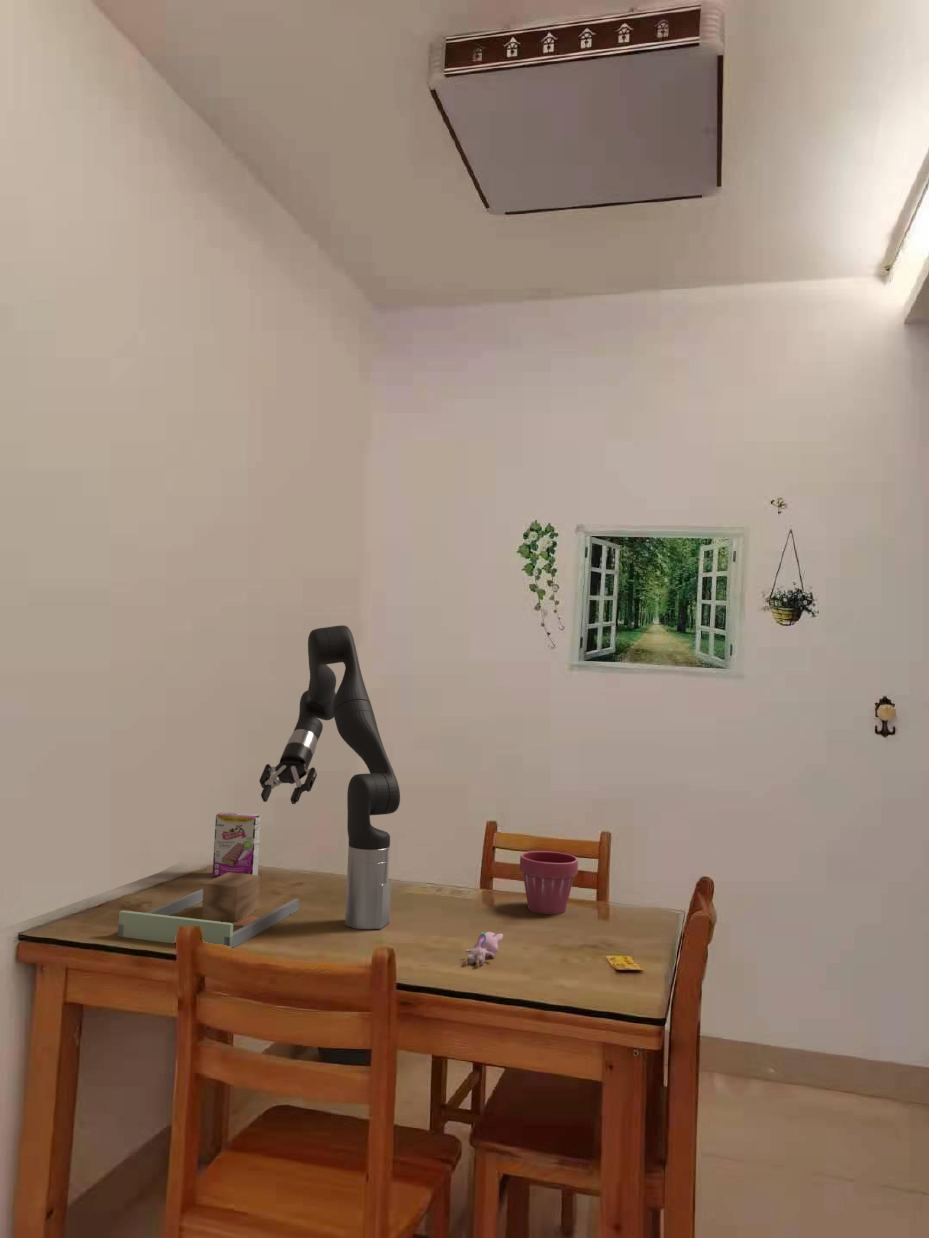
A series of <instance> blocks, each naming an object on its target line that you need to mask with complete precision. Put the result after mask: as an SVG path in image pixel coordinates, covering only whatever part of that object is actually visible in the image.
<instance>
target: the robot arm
mask: <svg viewBox="0 0 929 1238" xmlns="http://www.w3.org/2000/svg"><path fill="white" fill-rule="evenodd" d="M307 640H308V641H307V653H308V668H309V682H308V687H307V688H308V689H307V690H306V691H304V692H303V693H302V695H301V697H300V699H299V700H300V701H299V712H298V713H299V715H298V719H297V721H296V724H295V727H294V729H293V732H292V733H291V735H290V737H289V738H288V740H287V743H286V745H285V747H284V750H283V751H282V754H281V756H280V760H279V763H278V764H277V765H276V766H271V764H270V763H268V764H265V767H264V769H263V771H262V772H261V775H260V778H259V780H258V781H259V784H260V786H261V788H262V791H261V793H260V797H261V799H262V802H264V803H267V802H268V800H269V799H270V795H271V794H272V790H274V788H276V787H279V786H280V785H282V784H290V785H294V784H295V785H296V787H294V790H293V791H292V794H291V797H290V802H291V804H292V805H296V804H297V803H298V802H299V800H300V798H301V796H302V793H304V792H308V793H309V792H310V791H312V789H313V785H314V784H315V781H316V779H317V776H318V774H317V770H316V768H315V767H314V766H313V767H311V768H309V766H310V764H311V761H312V760H313V756H314V754H315V753H316V749H317V744H318V742H319V739H320V737H321V735H322V731H323V728H324V726H323V725H324V724H323V723H322V721H321V720H323V721H330V720H331V721H332V720H333V719H334V722H335V725H336V730H337V732H338V734H339V736H340V737H341V738H342V740H343V741H344V742H345V743H346V744H347V745H348V746H349V748H351V749H352V750H353V751H354V752H355V753H356V754H357V755H358V756H359V757H360V758H361V759H362V761H363V762H364V763H365V765H366V767H367V769H368V771H369V773H357V774H355V775H353V776H352V777H351V779H350V780H349V783H348V785H347V786H348V787H347V792H346V793H347V799H346V801H347V802H346V803H347V804H346V805H347V806H346V807H347V822H346V823H347V835H348V847H347V867H346V868H347V873H346V892H345V895H346V896H345V913H344V916H345V919H344V923H345V925H346V927H349V928H352V929H357V930H358V929H359V930H374V929H376V930H382V929H383V928H384V927H385V926H387V925H388V924H389V923H390V922H391V920H390V919H391V914H390V913H391V897H392V880H391V879H390V878H389V875H390V874H389V873H390V853H391V851H390V849H391V835H390V833H388V832H387V831H385V830H382V829H379V828H376V827H374V826H373V825H372V824H371V816H380V815H390V814H394V813H395V812H396V811H398V809H399V807H400V803H401V793H400V786H399V783H398V779H397V776H396V774H395V772H394V769H393V767H392V765H391V762H390V760H389V757H388V755H387V753H386V749H385V748H384V744H383V741H382V738H381V735H380V731H379V728H378V724H377V720H376V716H375V712H374V710H373V706H372V703H371V700H370V697H369V694H368V691H367V688H366V685H365V682H364V679H363V674H362V671H361V666H360V663H359V662H360V661H359V657H358V652H357V648H356V643H355V640H354V636H353V634H352V631H351V629H350V628H349V626H347V625H333V626H328V627H319V628H315V629H313V630H311V631H310V632H309V635H308V638H307ZM338 663H343V664H344V667H345V669H344V673H343V677H342V680H341V682H340V685H339V687H338V689H337V691H336V688H337V676H336V674H335V672H334V671H333V669H332V668H331V667H329V666H328V665H332V664H338ZM305 776H306V778H305V781H304V783H302V781H301V779H303V778H304V777H305Z"/></svg>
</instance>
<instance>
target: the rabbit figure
mask: <svg viewBox="0 0 929 1238" xmlns="http://www.w3.org/2000/svg"><path fill="white" fill-rule="evenodd" d="M503 937H504V934H503V933H497V934H496V933H494V932H491V931H486V932H484V931H481V932H480V934H479V937H478V940H477V942H475V944H474V946H473V948H471V949H465V950H464V952H465V953H468V954H467V955H466V957H465V959H464V963H463V965H466V966H467V965H468V966H469V965H473V964H475V967H477V968H480V966H483V965H484V964H485V960H486V958H489V957H490V956H491V957H493V958H494V957H495V956H496V954H498V952H499V947H498V945H499V944H500V942H501V941H502V940H503Z"/></svg>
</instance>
